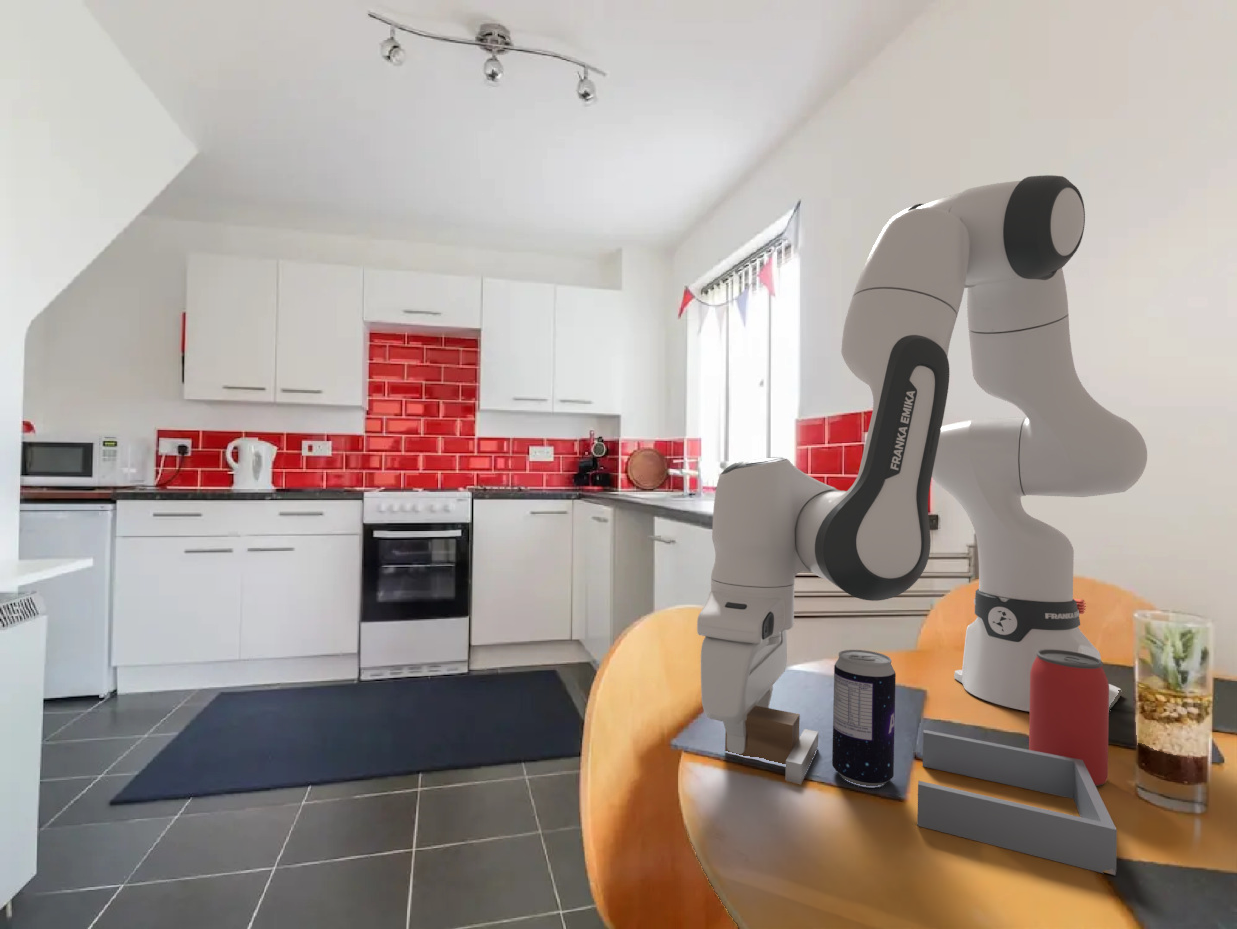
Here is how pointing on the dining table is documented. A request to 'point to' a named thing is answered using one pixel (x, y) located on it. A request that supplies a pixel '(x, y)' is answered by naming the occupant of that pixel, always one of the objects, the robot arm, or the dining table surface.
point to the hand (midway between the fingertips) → (748, 736)
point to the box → (1011, 822)
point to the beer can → (1070, 709)
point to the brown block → (780, 740)
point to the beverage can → (864, 717)
